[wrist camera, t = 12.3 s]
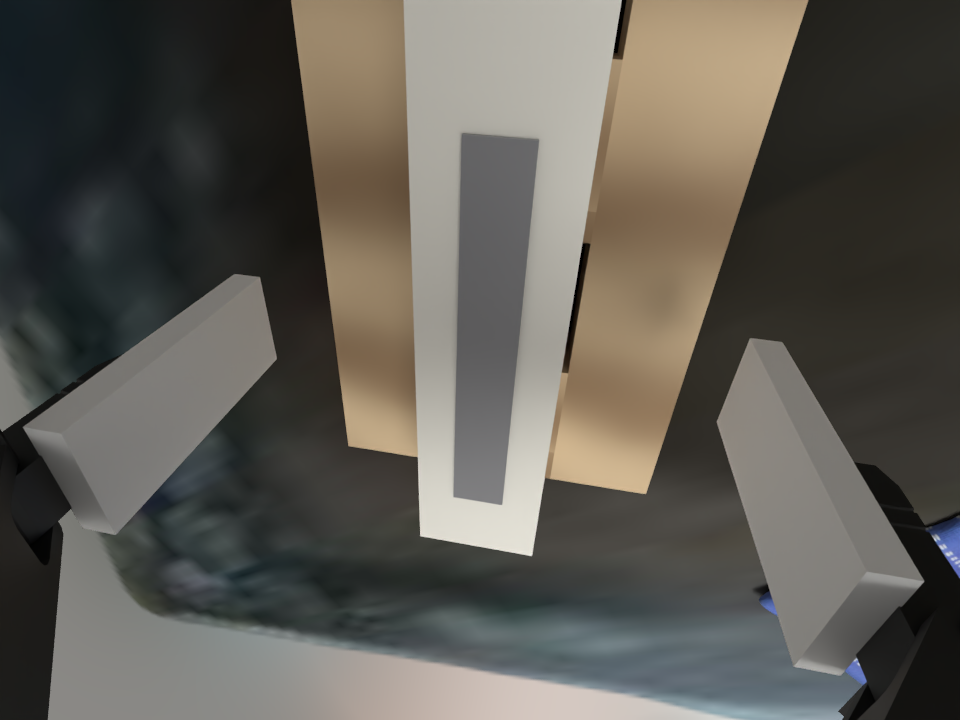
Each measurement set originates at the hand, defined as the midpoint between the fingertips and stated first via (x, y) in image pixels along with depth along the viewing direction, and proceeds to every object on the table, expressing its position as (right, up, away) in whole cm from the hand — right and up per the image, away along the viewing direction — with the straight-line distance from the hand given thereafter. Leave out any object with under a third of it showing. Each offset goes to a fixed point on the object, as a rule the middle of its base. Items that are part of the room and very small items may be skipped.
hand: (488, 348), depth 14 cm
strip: (+1, +4, +5) cm, 7 cm away
